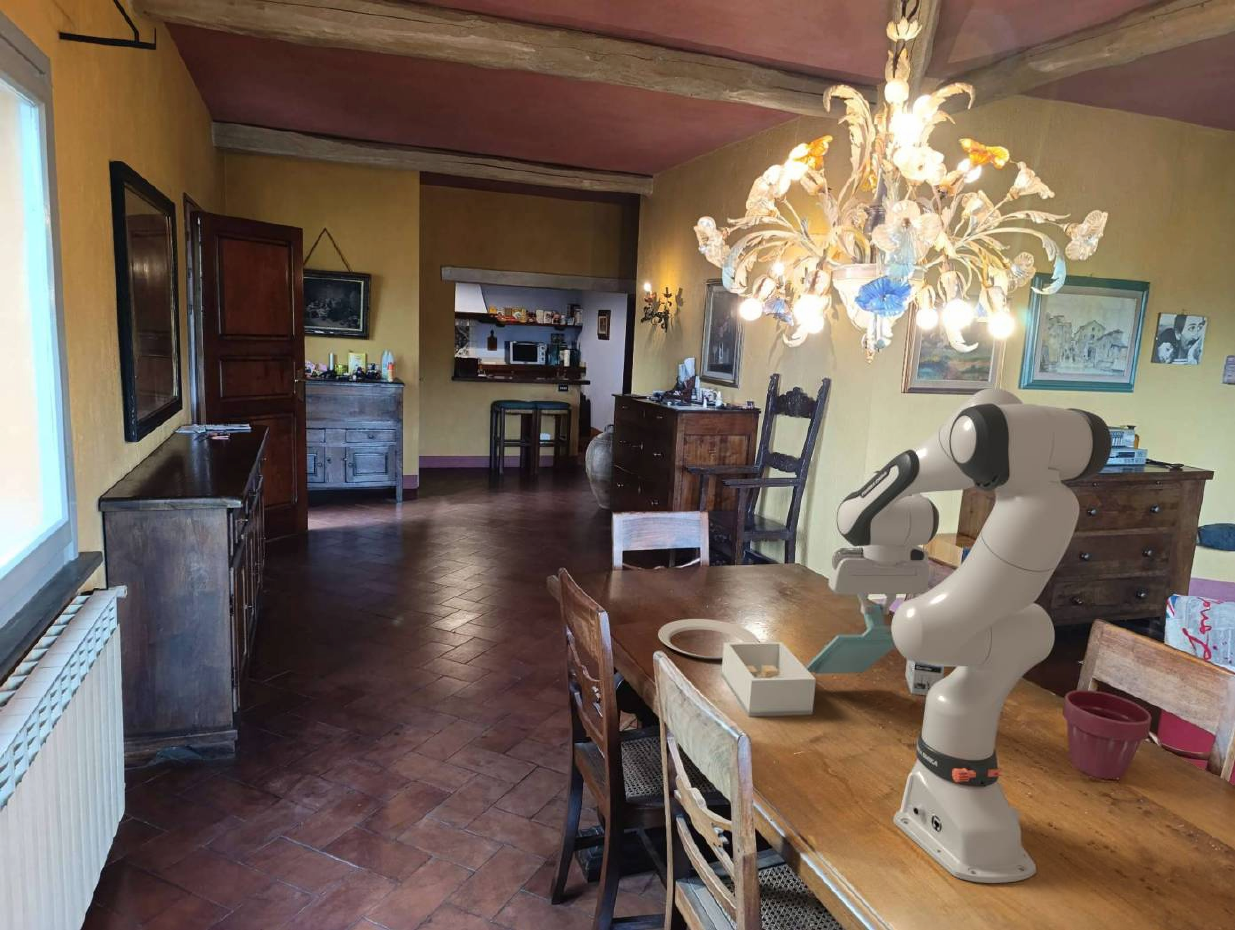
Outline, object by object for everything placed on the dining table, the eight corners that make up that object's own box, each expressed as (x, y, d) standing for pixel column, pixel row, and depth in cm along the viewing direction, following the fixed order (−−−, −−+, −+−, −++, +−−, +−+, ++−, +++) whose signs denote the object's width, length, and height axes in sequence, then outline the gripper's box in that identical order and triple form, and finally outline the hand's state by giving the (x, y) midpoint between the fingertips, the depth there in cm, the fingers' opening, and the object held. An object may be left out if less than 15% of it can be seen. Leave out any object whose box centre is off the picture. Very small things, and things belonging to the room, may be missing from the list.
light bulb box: (941, 698, 183) (947, 653, 181) (910, 694, 184) (915, 649, 182) (933, 679, 193) (938, 636, 191) (903, 675, 194) (909, 632, 193)
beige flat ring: (700, 619, 225) (701, 612, 225) (778, 647, 208) (778, 640, 207) (637, 640, 208) (637, 633, 207) (715, 674, 190) (716, 666, 189)
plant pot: (1113, 750, 163) (1123, 691, 161) (1157, 790, 149) (1169, 725, 147) (1041, 746, 163) (1051, 686, 161) (1079, 785, 150) (1089, 720, 147)
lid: (917, 633, 164) (908, 602, 168) (847, 633, 162) (840, 603, 165) (866, 675, 185) (859, 647, 189) (804, 676, 182) (798, 648, 186)
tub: (812, 714, 172) (815, 679, 170) (748, 716, 169) (751, 680, 168) (778, 674, 191) (781, 641, 190) (721, 675, 189) (723, 642, 187)
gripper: (840, 552, 159) (833, 619, 162) (936, 553, 163) (928, 618, 165) (827, 543, 165) (820, 608, 168) (920, 544, 169) (912, 607, 171)
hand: (874, 613), depth 166 cm, fingers closed on lid, 2 cm apart
